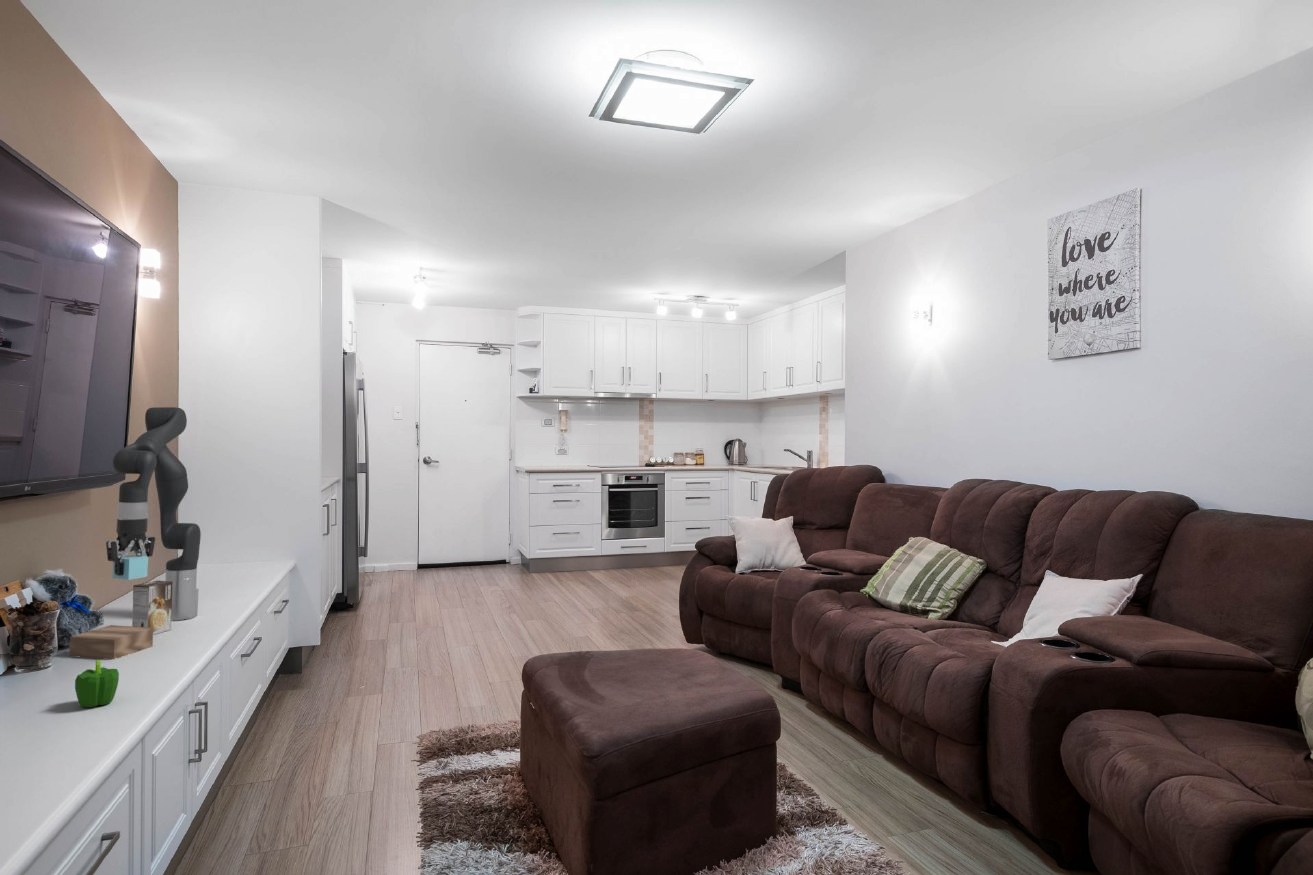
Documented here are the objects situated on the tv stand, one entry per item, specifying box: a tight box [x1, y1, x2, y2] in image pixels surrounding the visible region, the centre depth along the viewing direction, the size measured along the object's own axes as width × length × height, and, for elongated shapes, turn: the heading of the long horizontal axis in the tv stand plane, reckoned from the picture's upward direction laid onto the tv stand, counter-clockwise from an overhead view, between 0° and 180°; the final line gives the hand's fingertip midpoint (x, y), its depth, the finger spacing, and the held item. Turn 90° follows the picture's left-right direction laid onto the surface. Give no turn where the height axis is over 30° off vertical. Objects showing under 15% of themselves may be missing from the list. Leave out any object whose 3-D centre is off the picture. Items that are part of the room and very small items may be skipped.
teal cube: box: [112, 554, 149, 581], centre depth 221 cm, size 6×6×6 cm
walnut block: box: [69, 624, 154, 660], centre depth 219 cm, size 14×14×6 cm
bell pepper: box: [74, 659, 120, 708], centre depth 177 cm, size 8×8×10 cm
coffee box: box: [131, 580, 173, 636], centre depth 241 cm, size 9×6×16 cm
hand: (129, 573), depth 221 cm, fingers closed on teal cube, 6 cm apart
